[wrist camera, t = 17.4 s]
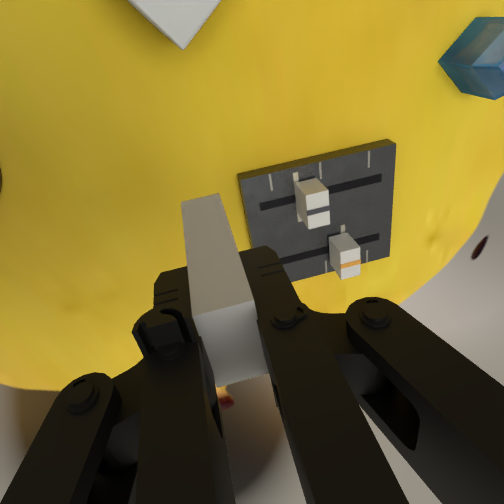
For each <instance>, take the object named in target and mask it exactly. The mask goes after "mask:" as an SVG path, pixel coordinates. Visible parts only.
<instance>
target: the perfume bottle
mask: <svg viewBox="0 0 504 504" xmlns="http://www.w3.org/2000/svg"><path fill="white" fill-rule="evenodd" d="M438 63H439V64H440V65H441V66H442V68H443V69H444V70H445V72H446V73H447V74H448V76H449V77H450V78H451V80H452V81H453V82H454V83H455V85H456V86H457V87H458V89H459V90H460V91H461V92H462V93H466V94H471V95H475V96H479V97H484V98H488V99H492V100H496V99H498V98H500V97H502V96H504V17H476V18H475V19H474V20H473V21H472V22H471V24H470V25H469V26H468V27H467V28H466V29H465V30H464V32H463V33H462V34H461V35H460V36H459V37H458V39H457V40H456V41H455V42H454V43H453V44H452V46H451V47H450V48H449V49H448V50H447V51H446V52H445V54H444V55H443V56H442V57H441V58H440V59H439V61H438Z"/></svg>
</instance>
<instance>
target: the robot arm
mask: <svg viewBox="0 0 504 504" xmlns="http://www.w3.org/2000/svg"><path fill="white" fill-rule="evenodd" d="M1 186H2V176H1V170H0V192H1ZM181 208H182V218H183V228H184V238H185V248H186V258H187V266H186V267H182V268H178V269H174V270H170V271H166V272H162V273H160V275H159V277H158V278H157V280H156V282H155V283H154V302H153V304H154V306H153V309H151V310H149V311H148V312H146V313H145V314H144V315H142V316H141V317H140V318H139V319H138V320H137V322H136V323H135V324H134V327H133V330H132V334H133V336H134V338H135V340H136V342H137V344H138V346H139V348H140V350H141V352H142V354H143V356H144V358H143V359H142V360H141V361H140V362H139V363H138V364H136V365H135V366H133V367H132V368H130V369H129V370H127V371H125V372H123V373H122V374H120V375H118V376H116V377H114V378H112V379H111V378H110V377H109V376H107V375H106V374H104V373H96V372H94V373H90V374H86V375H83V376H81V377H79V378H77V379H75V380H73V381H72V382H71V383H70V384H68V385H67V386H66V387H65V388H64V389H63V390H62V391H61V392H60V394H59V395H58V396H57V398H56V399H55V401H54V403H53V405H52V407H51V409H50V410H49V412H48V414H47V416H46V418H45V420H44V422H43V423H42V425H41V427H40V429H39V431H38V433H37V435H36V437H35V439H34V440H33V442H32V444H31V446H30V448H29V450H28V452H27V454H26V456H25V457H24V460H23V461H22V463H21V465H20V467H19V469H18V471H17V472H16V474H15V476H14V478H13V480H12V482H11V484H10V486H9V487H8V489H7V491H6V493H5V495H4V497H3V499H2V501H1V503H0V504H236V503H235V496H234V490H233V483H232V477H231V470H230V463H229V457H228V450H227V444H226V438H225V431H224V424H223V418H222V411H221V405H220V402H219V400H218V397H217V394H216V387H215V383H216V386H217V388H218V387H221V386H225V385H228V384H232V383H236V382H239V381H242V380H246V379H250V378H253V377H257V376H260V375H264V374H268V373H269V374H270V378H271V382H272V387H273V392H274V397H275V401H276V406H277V407H278V408H279V411H280V415H281V418H282V422H283V425H284V428H285V432H286V435H287V439H288V442H289V445H290V449H291V452H292V456H293V459H294V462H295V466H296V469H297V473H298V476H299V479H300V483H301V486H302V489H303V493H304V496H305V500H306V503H307V504H409V502H408V500H407V498H406V497H405V495H404V493H403V490H402V489H401V487H400V485H399V483H398V481H397V479H396V477H395V475H394V473H393V471H392V469H391V467H390V465H389V463H388V461H387V459H386V457H385V455H384V453H383V451H382V449H381V448H380V445H379V443H378V442H377V440H376V438H375V436H374V434H373V432H372V430H371V428H370V426H369V424H368V422H367V420H366V418H365V416H364V414H363V412H362V410H361V408H362V409H363V410H364V411H365V412H366V413H367V415H368V416H369V417H370V418H371V419H372V421H373V422H374V423H375V424H376V425H377V427H378V428H379V429H380V430H381V431H382V433H384V435H385V436H386V437H387V439H388V440H389V441H390V442H391V443H392V444H393V446H394V447H395V448H396V449H397V450H398V452H399V453H400V454H401V455H402V456H403V458H404V459H405V460H406V461H407V462H408V463H409V465H410V466H411V467H412V468H413V469H414V471H415V472H416V473H417V474H418V475H419V477H420V478H421V479H422V480H423V481H424V482H425V484H426V485H427V486H428V487H429V488H430V490H431V491H432V492H433V493H434V494H435V495H436V497H437V498H438V499H439V500H440V502H441V503H442V504H504V386H503V385H501V384H500V383H499V382H497V381H496V380H495V379H494V378H492V377H491V376H489V375H488V374H487V373H486V372H484V371H483V370H482V369H480V368H479V367H478V366H477V365H475V364H474V363H473V362H471V361H470V360H469V359H467V358H466V357H465V356H464V355H462V354H461V353H459V352H458V351H457V350H456V349H454V348H453V347H452V346H450V345H449V344H448V343H446V342H445V341H444V340H442V339H441V338H440V337H438V336H437V335H436V334H435V333H433V332H432V331H431V330H429V329H428V328H427V327H426V326H424V325H423V324H422V323H420V322H419V321H418V320H416V319H415V318H414V317H412V316H411V315H410V314H409V313H407V312H406V311H405V310H403V309H402V308H400V307H399V306H398V305H397V304H395V303H393V302H391V301H389V300H387V299H383V298H379V297H365V298H362V299H359V300H356V301H355V302H353V303H352V304H351V305H349V307H348V309H347V311H346V313H337V314H329V313H320V312H316V311H313V310H311V309H309V308H308V307H307V306H306V305H305V304H303V303H302V302H301V301H300V300H299V298H298V296H297V294H296V292H295V290H294V287H293V285H292V283H291V281H290V279H289V277H288V275H287V273H286V271H285V270H284V267H283V265H282V263H281V261H280V259H279V257H278V255H277V253H276V252H275V251H274V250H272V249H271V248H269V247H268V246H266V245H265V246H261V247H257V248H253V249H249V250H245V251H241V252H238V250H237V247H236V244H235V241H234V237H233V234H232V231H231V228H230V225H229V222H228V219H227V216H226V213H225V210H224V207H223V204H222V201H221V198H220V195H219V193H217V194H213V195H209V196H205V197H201V198H196V199H192V200H188V201H184V202H181ZM359 405H360V406H361V408H360V406H359Z"/></svg>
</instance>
